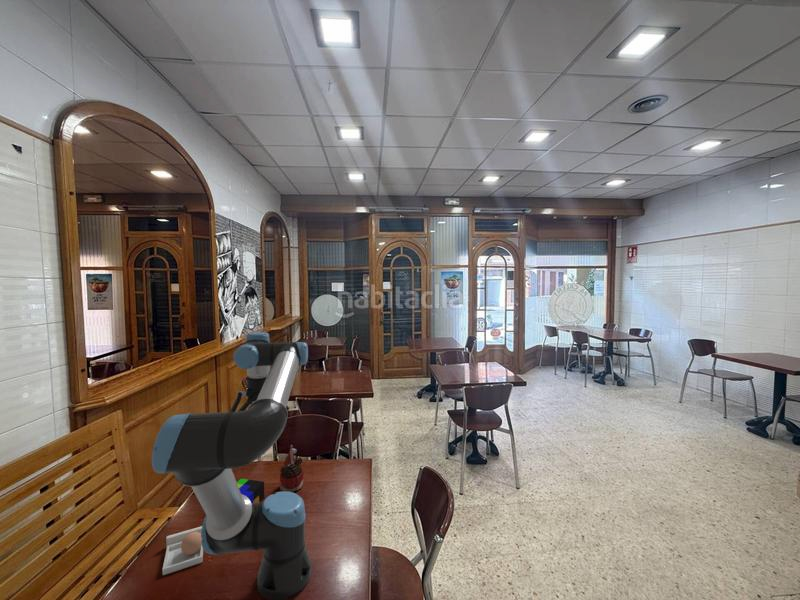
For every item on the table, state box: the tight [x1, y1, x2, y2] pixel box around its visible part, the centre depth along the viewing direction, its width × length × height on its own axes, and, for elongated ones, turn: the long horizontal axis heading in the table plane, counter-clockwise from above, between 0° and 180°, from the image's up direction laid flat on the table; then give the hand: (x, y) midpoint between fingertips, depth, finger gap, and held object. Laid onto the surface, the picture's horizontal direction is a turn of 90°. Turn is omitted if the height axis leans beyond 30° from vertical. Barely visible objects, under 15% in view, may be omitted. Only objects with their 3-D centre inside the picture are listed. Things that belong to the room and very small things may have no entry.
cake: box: [279, 444, 304, 492], centre depth 143 cm, size 11×9×18 cm
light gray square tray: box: [162, 542, 204, 576], centre depth 106 cm, size 10×10×2 cm
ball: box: [181, 532, 202, 555], centre depth 107 cm, size 6×6×6 cm
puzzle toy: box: [236, 478, 265, 503], centre depth 127 cm, size 10×10×10 cm
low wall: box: [165, 525, 202, 547], centre depth 113 cm, size 1×12×4 cm, turn 118°
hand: (259, 434), depth 121 cm, fingers open, 13 cm apart
